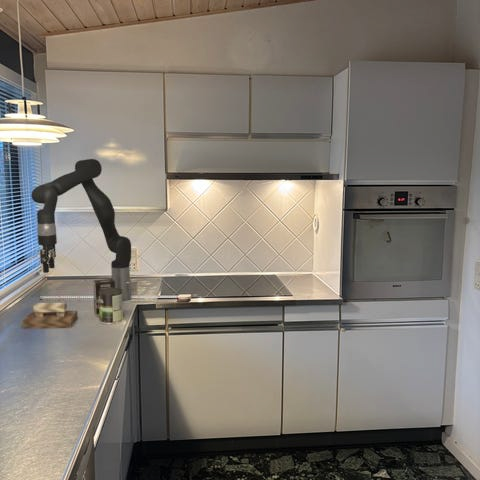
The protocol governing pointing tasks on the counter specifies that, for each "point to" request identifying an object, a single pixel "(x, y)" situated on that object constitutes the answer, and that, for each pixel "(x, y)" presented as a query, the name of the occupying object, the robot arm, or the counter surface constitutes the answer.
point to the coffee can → (110, 305)
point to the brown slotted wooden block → (50, 320)
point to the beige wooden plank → (50, 309)
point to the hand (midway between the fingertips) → (49, 270)
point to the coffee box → (98, 286)
